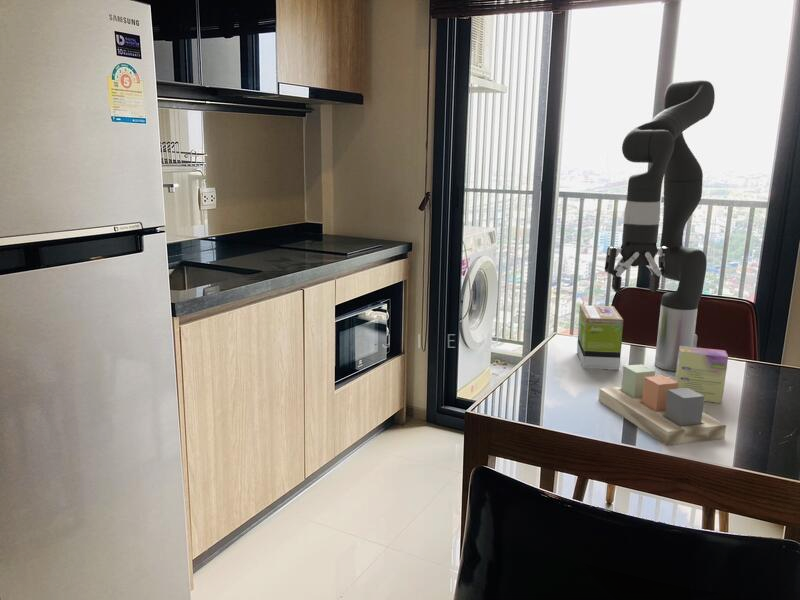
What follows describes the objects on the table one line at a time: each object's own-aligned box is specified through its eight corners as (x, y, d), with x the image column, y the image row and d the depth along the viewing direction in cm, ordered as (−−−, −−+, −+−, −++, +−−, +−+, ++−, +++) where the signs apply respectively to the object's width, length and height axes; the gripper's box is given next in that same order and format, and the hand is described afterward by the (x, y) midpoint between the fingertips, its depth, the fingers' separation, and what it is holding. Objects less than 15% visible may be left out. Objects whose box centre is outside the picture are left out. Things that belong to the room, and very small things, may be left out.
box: (719, 395, 160) (725, 349, 157) (722, 404, 155) (728, 356, 152) (673, 390, 163) (678, 344, 161) (674, 398, 158) (680, 351, 156)
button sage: (639, 390, 156) (641, 364, 154) (652, 397, 151) (655, 371, 150) (620, 391, 155) (623, 365, 153) (633, 399, 150) (636, 372, 148)
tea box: (575, 352, 193) (579, 303, 190) (610, 354, 192) (615, 305, 188) (582, 369, 178) (586, 316, 175) (620, 371, 177) (625, 318, 174)
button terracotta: (660, 402, 148) (663, 375, 147) (675, 410, 144) (678, 382, 142) (641, 404, 147) (644, 377, 146) (655, 413, 142) (658, 384, 141)
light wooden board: (649, 395, 160) (650, 383, 159) (724, 438, 136) (726, 425, 135) (598, 400, 156) (599, 388, 155) (666, 445, 132) (668, 431, 132)
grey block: (684, 416, 141) (687, 387, 139) (700, 425, 136) (704, 396, 135) (664, 418, 140) (667, 389, 138) (680, 427, 135) (683, 398, 133)
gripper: (664, 219, 151) (657, 288, 155) (604, 219, 150) (598, 288, 154) (679, 223, 144) (672, 295, 148) (617, 223, 143) (611, 295, 147)
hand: (634, 291), depth 151 cm, fingers open, 8 cm apart
